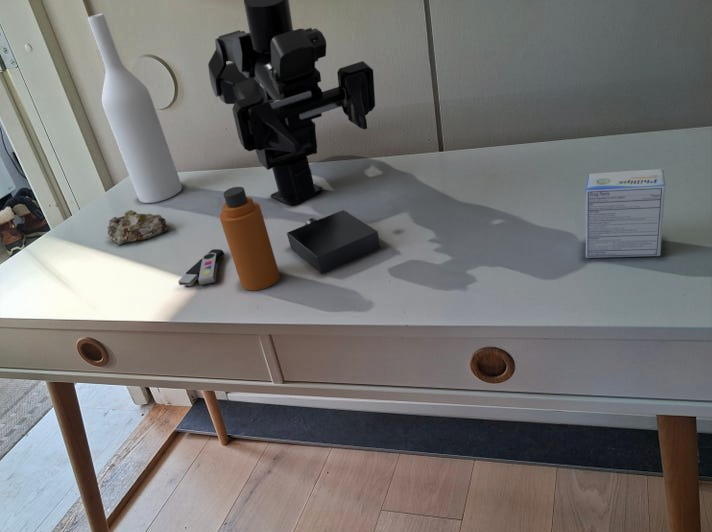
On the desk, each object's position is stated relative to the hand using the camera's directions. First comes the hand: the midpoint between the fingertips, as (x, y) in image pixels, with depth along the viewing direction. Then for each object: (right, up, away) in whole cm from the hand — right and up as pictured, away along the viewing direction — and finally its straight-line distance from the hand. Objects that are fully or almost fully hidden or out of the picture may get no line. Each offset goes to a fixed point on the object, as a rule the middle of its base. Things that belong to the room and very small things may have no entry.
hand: (331, 137), depth 86 cm
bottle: (-31, +3, +42) cm, 52 cm away
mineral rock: (-31, -7, +29) cm, 43 cm away
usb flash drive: (-17, -15, +12) cm, 25 cm away
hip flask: (0, -12, +10) cm, 16 cm away
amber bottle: (-9, -17, +7) cm, 20 cm away
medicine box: (+33, -15, -5) cm, 37 cm away
